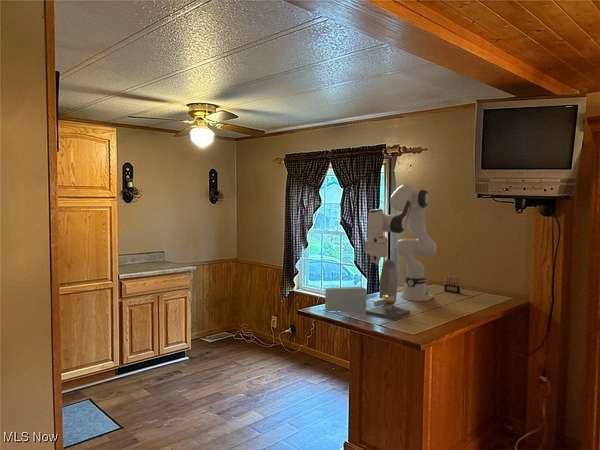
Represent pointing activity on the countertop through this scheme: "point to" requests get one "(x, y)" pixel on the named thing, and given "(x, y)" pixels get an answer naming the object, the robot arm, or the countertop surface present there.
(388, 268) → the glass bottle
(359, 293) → the bar with end hole
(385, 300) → the gold knob with bar
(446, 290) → the ammunition clip
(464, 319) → the countertop surface
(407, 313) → the plate
